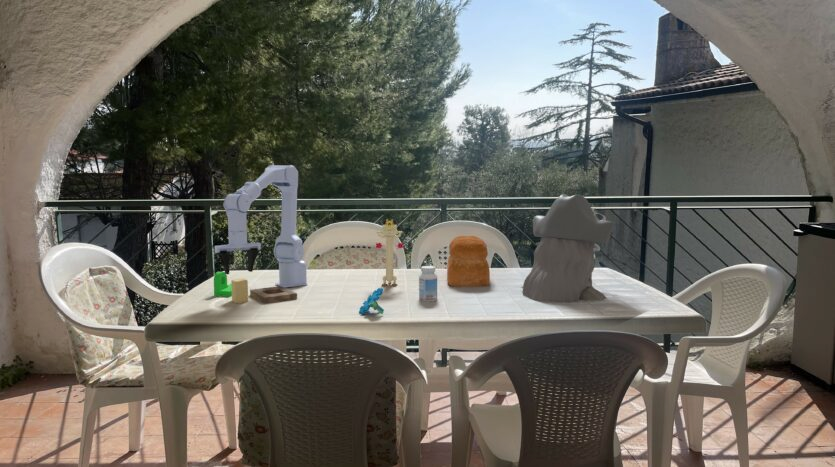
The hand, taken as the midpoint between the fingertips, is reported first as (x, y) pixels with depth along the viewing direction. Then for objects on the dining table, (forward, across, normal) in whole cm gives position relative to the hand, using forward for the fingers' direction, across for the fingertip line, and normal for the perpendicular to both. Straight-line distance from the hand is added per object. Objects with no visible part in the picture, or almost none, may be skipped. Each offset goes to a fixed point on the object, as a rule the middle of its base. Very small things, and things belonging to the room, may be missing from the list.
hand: (238, 272), depth 194 cm
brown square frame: (+9, -11, +1) cm, 15 cm away
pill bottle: (+10, -52, +34) cm, 63 cm away
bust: (+10, -94, +54) cm, 109 cm away
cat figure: (+10, -54, +7) cm, 55 cm away
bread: (+10, -83, +18) cm, 85 cm away
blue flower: (+11, -25, +37) cm, 46 cm away
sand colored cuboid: (+10, 0, 0) cm, 10 cm away
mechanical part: (+10, -2, -14) cm, 17 cm away
